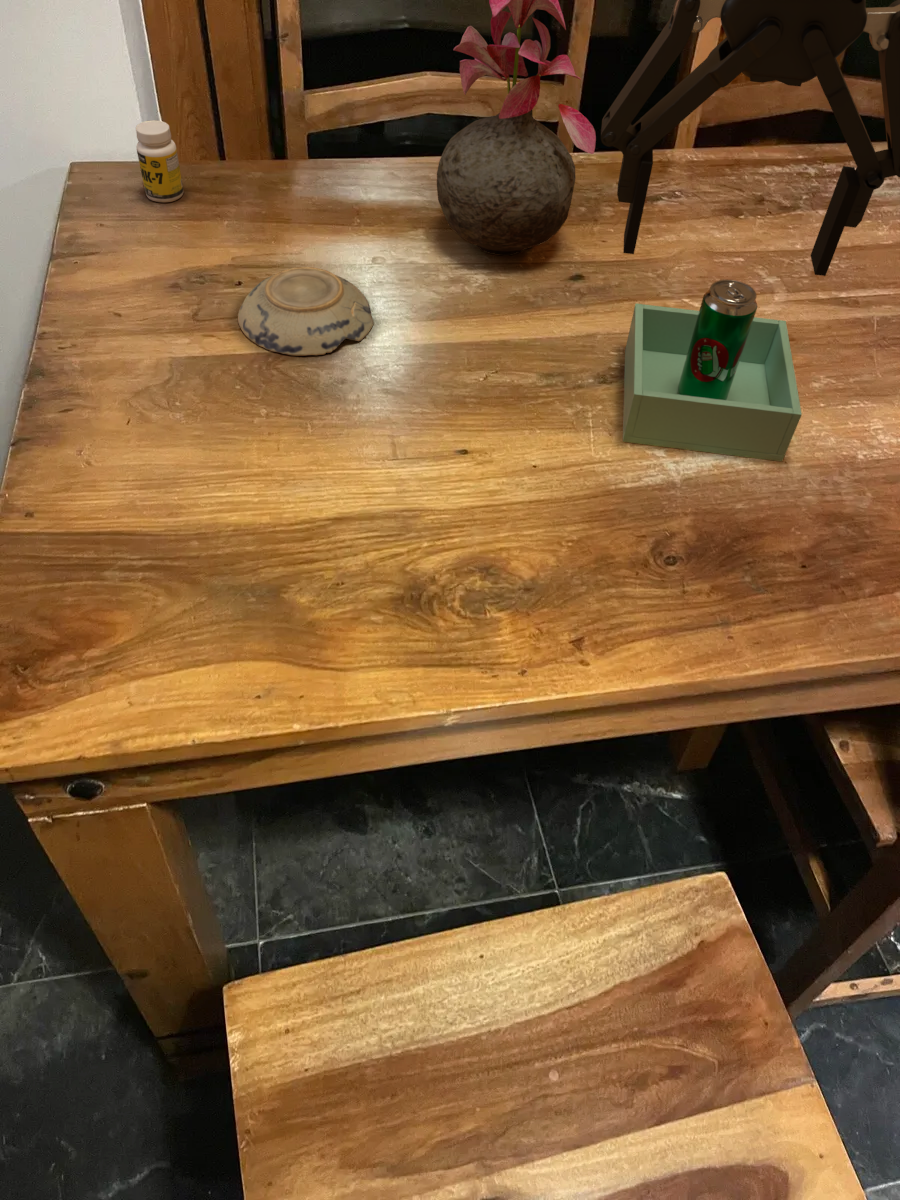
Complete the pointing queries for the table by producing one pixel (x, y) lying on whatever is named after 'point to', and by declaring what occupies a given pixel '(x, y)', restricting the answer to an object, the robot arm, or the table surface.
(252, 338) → the decorative bowl
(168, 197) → the supplement bottle
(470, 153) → the vase
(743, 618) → the table surface
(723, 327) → the soda can
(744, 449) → the green open-top storage box
